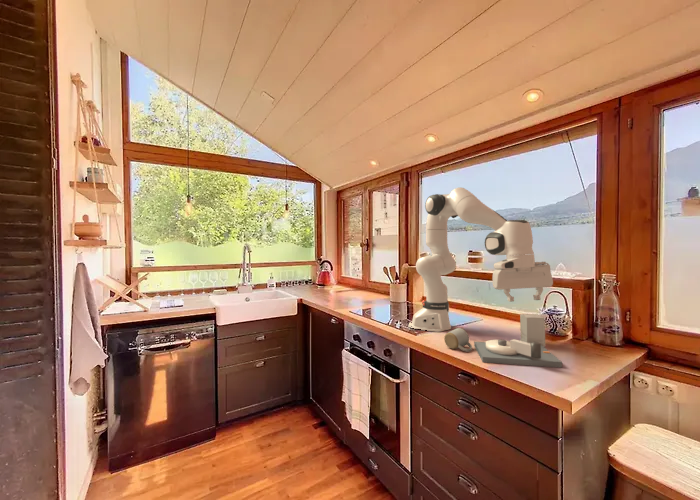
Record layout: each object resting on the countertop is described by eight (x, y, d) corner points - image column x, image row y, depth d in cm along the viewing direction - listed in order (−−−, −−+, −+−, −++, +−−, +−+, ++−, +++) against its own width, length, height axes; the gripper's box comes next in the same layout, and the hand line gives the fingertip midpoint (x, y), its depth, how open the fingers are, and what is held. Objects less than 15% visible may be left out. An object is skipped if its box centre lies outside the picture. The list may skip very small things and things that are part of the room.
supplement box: (545, 347, 122) (545, 317, 122) (526, 346, 123) (526, 317, 123) (538, 341, 129) (537, 313, 129) (520, 341, 131) (519, 313, 131)
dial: (479, 348, 117) (479, 333, 117) (497, 342, 123) (496, 328, 123) (531, 364, 99) (531, 347, 99) (549, 357, 106) (548, 341, 106)
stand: (482, 362, 108) (482, 356, 108) (474, 346, 126) (474, 340, 126) (562, 367, 102) (562, 361, 102) (541, 349, 119) (541, 344, 119)
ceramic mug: (442, 347, 125) (442, 329, 125) (454, 343, 130) (454, 326, 130) (465, 354, 117) (465, 335, 117) (476, 349, 122) (476, 331, 121)
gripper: (543, 261, 109) (547, 298, 108) (489, 264, 109) (492, 301, 108) (555, 261, 102) (558, 300, 102) (497, 264, 103) (500, 303, 102)
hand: (524, 300), depth 105 cm, fingers open, 8 cm apart
